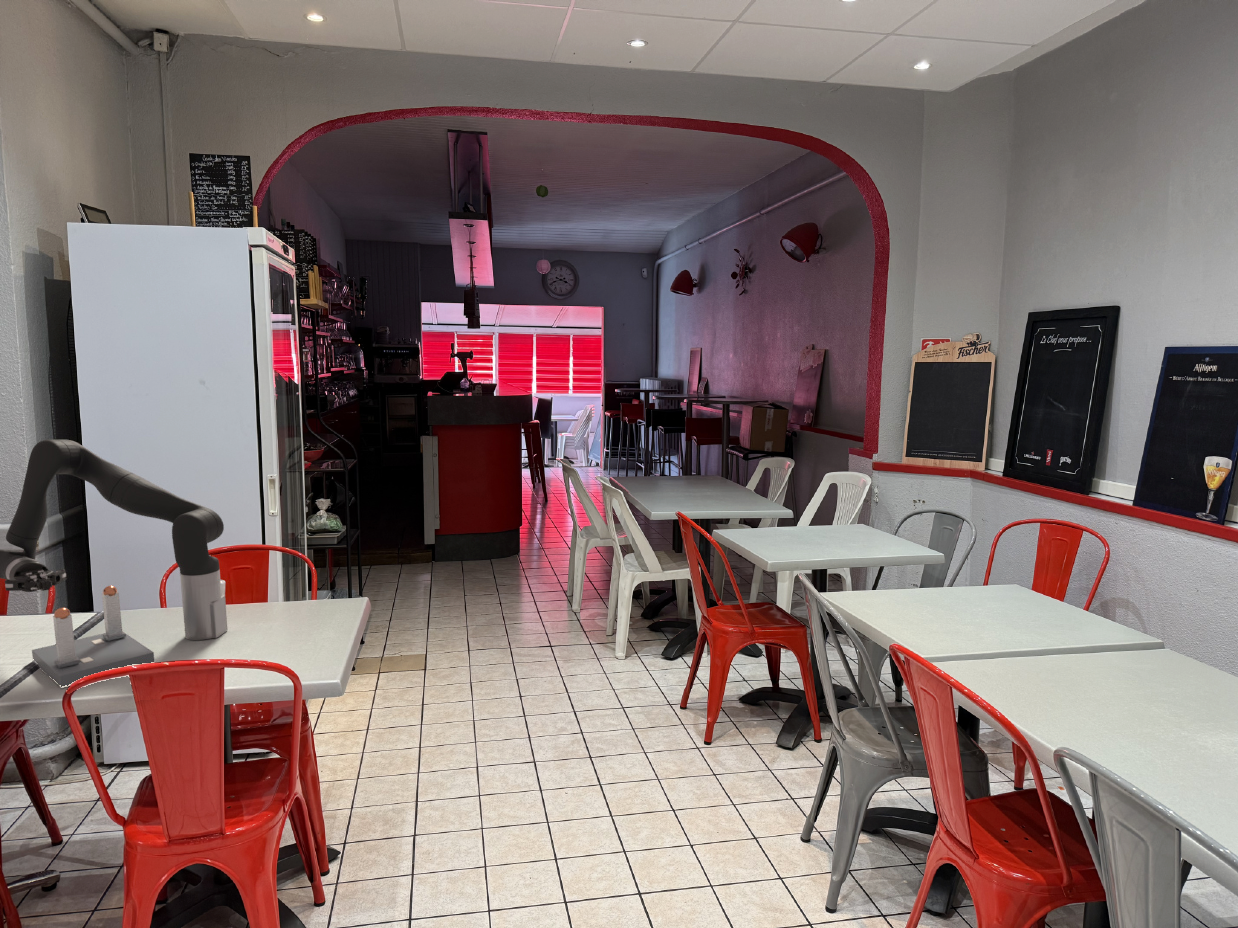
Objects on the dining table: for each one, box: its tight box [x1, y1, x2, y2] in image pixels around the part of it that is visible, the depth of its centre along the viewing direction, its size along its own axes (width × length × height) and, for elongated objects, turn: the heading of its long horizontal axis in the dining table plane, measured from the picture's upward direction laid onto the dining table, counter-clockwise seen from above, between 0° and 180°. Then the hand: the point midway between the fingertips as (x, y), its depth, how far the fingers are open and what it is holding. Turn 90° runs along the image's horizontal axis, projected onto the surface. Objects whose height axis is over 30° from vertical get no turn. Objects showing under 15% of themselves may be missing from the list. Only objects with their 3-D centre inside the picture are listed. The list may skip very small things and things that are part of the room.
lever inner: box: [101, 585, 127, 641], centre depth 204 cm, size 4×4×13 cm
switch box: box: [31, 632, 155, 687], centre depth 196 cm, size 24×19×3 cm
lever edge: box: [52, 607, 80, 668], centre depth 186 cm, size 4×4×13 cm
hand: (46, 585), depth 193 cm, fingers closed
